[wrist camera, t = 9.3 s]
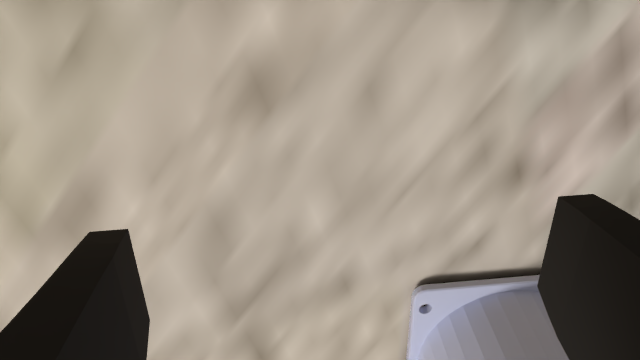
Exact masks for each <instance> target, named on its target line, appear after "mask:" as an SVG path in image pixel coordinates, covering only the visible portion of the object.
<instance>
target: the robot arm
mask: <svg viewBox="0 0 640 360" xmlns="http://www.w3.org/2000/svg"><path fill="white" fill-rule="evenodd" d="M425 304H428V305H426V306H424V307H421V306H422V305H425ZM149 322H150V319H149V315H148V310H147V306H146V302H145V298H144V294H143V290H142V285H141V281H140V277H139V273H138V269H137V265H136V260H135V256H134V252H133V248H132V244H131V240H130V235H129V231H128V229H123V230H109V231H96V232H89V233H88V234H87V235H86V237H85V238H84V239H83V240H82V241H81V242H80V243H79V244H78V245H77V247H76V248H75V249H74V250H73V251H72V252H71V253H70V255H69V256H68V257H67V258H66V259H65V260H64V262H63V263H62V264H61V265H60V266H59V267H58V269H57V270H56V271H55V272H54V273H53V274H52V275H51V277H50V278H49V279H48V280H47V281H46V282H45V284H44V285H43V286H42V287H41V288H40V289H39V290H38V292H37V293H36V294H35V295H34V296H33V297H32V298H31V299H30V300H29V302H28V303H27V304H26V305H25V306H24V307H23V308H22V309H21V310H20V312H19V313H18V314H17V315H16V316H15V317H14V318H13V319H12V320H11V321H10V323H9V324H8V325H7V326H6V327H5V328H4V329H3V330H2V331H1V332H0V360H146V357H147V347H148V335H149ZM406 360H640V220H638V219H637V218H635V217H633V216H632V215H630V214H628V213H627V212H625V211H623V210H622V209H620V208H618V207H616V206H615V205H613V204H611V203H609V202H607V201H606V200H604V199H602V198H600V197H598V196H596V195H594V194H587V195H574V196H561V197H558V200H557V205H556V209H555V213H554V217H553V222H552V226H551V230H550V234H549V238H548V243H547V247H546V251H545V255H544V260H543V264H542V268H541V272H540V275H532V276H520V277H508V278H497V279H485V280H473V281H461V282H449V283H438V284H426V285H421V286H419V287H417V288H416V289H415V290H414V291H413V293H412V299H411V311H410V322H409V334H408V345H407V357H406Z"/></svg>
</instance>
